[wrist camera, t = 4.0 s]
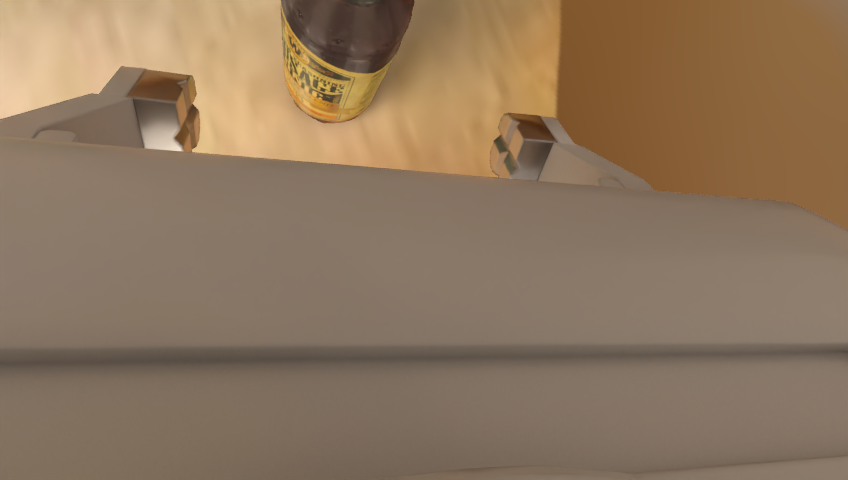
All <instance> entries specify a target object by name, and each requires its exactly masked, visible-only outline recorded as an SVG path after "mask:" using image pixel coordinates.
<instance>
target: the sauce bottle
mask: <svg viewBox="0 0 848 480" xmlns="http://www.w3.org/2000/svg"><path fill="white" fill-rule="evenodd" d="M413 6H414V0H281V18H282V40H283V56H284V75H285V81H286V85H287V88H288V90H289V92H290V95H291V96H292V98H293V100H294V102H295V104H296V105H297V107H299V108H300V109H301V110H302V111H303V112H305V113H306V114H307V115H308V116H310V117H312V118H313V119H316V120H318V121H320V122H322V123H340V122H345V121H348V120H351V119H354V118H355V117H357V116H358V115H359V114H360V113H361V112H363V111H364V110H365V109H366V108H367V107H368V106H369V104H370V103H371V101H372V99H373V97H374V95H375V93H376V91H377V89H378V87H379V85H380V83H381V82H382V80H383V78H384V76H385V74H386V72H387V70H388V68H389V66H390V64H391V62H392V61H393V59H394V57H395V55H396V53H397V51H398V49H399V46H400V44H401V41H402V38H403V36H404V34H405V32H406V30H407V28H408V25H409V22H410V19H411V16H412V11H413Z"/></svg>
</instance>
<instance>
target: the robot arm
mask: <svg viewBox="0 0 848 480" xmlns="http://www.w3.org/2000/svg"><path fill="white" fill-rule="evenodd" d="M196 94H197V93H196V87H195V81H194V79H193V76H192V75H184V74H177V73H169V72H162V71H155V70H147V69H145V68H135V67H124V66H121V67H120V68H119V70H118V71H117V72H116V73H115V74H114V76H113V77H112V78H111V79H110V81H109V82H108V83H107V84H106V86H105V87H104V88H103V89H102V91H101V92H100V93H99V94H88V95H84V96H81V97H77V98H74V99H70V100H67V101H63V102H60V103H56V104H53V105H49V106H46V107H42V108H39V109H35V110H32V111H28V112H25V113H21V114H18V115H14V116H11V117H7V118H4V119H0V480H848V230H846V229H845V228H843V227H841V226H839V225H837V224H835V223H834V222H832V221H830V220H828V219H826V218H824V217H822V216H820V215H817V214H815V213H813V212H811V211H809V210H807V209H805V208H803V207H800V206H797V205H795V204H792V203H788V202H783V201H775V200H759V199H748V198H735V197H723V196H711V195H699V194H687V193H675V192H663V191H654V190H653V189H652V187H651V186H650V185H649V184H648V183H647V182H646V181H645V180H643V179H641V178H639V177H637V176H636V175H634V174H632V173H630V172H628V171H626V170H625V169H623V168H621V167H619V166H617V165H615V164H613V163H612V162H610V161H608V160H606V159H604V158H603V157H601V156H599V155H597V154H595V153H593V152H592V151H590V150H588V149H586V148H584V147H582V146H581V145H575V144H574V142H573V141H572V140H571V138H570V137H569V136H568V134H567V133H566V131H565V130H564V129H563V127H562V126H561V125H560V123H559V122H558V120H557V119H556V118H553V117H542V116H537V115H526V114H516V113H506V114H504V115H503V117H502V118H501V120H500V123H499V126H498V129H499V131H500V134H501V135H500V136H499V137H498V138H497V139H495V140H494V141H493V145H492V148H491V151H490V166H491V169H492V172H493V173H495V174H496V175H498V178H496V177H484V176H472V175H459V174H447V173H435V172H423V171H411V170H399V169H387V168H375V167H363V166H351V165H339V164H327V163H315V162H303V161H291V160H279V159H267V158H255V157H243V156H231V155H219V154H207V153H195V152H192V149H193V148H195V147H197V144H198V141H199V134H200V118H199V111H198V109H197V108H196V107H195V106H194V105H193V101H194V99H195V97H196Z"/></svg>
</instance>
